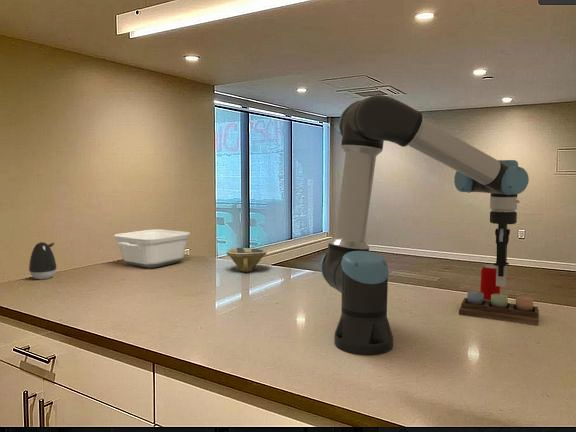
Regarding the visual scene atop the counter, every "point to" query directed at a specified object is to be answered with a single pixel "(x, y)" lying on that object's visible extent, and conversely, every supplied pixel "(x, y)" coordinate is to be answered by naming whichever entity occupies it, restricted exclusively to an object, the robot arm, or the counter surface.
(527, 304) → the terracotta button
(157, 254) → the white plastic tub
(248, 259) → the bowl
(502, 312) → the panel
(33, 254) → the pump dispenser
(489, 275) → the beverage can
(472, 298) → the slate button
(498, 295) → the sage button
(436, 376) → the counter surface
